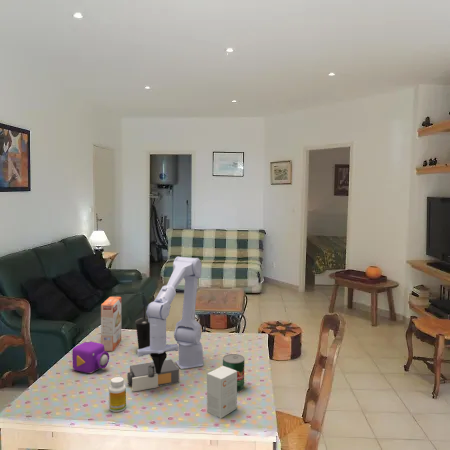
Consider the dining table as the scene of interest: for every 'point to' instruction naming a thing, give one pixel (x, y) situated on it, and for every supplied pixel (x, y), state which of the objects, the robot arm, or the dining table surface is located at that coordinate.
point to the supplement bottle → (117, 395)
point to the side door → (145, 380)
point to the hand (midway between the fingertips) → (158, 372)
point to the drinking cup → (143, 331)
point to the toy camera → (89, 357)
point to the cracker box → (111, 323)
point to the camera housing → (164, 378)
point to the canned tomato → (236, 368)
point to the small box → (221, 391)
